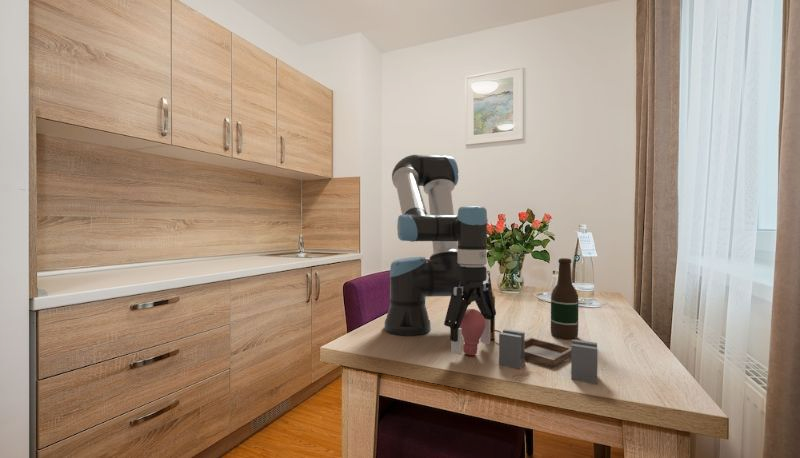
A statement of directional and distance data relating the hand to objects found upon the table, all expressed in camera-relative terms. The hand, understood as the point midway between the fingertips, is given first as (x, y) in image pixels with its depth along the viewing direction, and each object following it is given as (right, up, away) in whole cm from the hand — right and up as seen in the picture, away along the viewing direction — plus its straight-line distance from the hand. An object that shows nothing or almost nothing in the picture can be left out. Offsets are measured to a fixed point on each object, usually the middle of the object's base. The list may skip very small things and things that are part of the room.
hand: (471, 347), depth 91 cm
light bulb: (0, -2, 0) cm, 2 cm away
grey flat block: (+23, -2, -13) cm, 26 cm away
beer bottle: (+32, -2, +16) cm, 36 cm away
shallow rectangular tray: (+18, -2, 0) cm, 19 cm away
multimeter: (+12, -2, +15) cm, 19 cm away
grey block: (+9, -2, -5) cm, 11 cm away
